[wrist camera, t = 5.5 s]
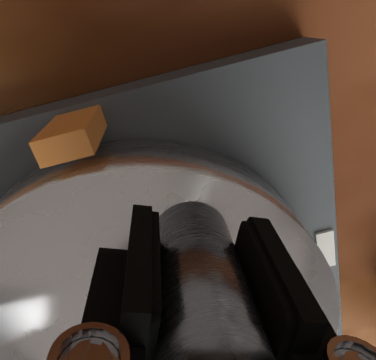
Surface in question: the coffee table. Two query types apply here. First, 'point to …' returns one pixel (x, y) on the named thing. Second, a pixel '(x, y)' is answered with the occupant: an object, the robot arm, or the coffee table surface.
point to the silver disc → (169, 248)
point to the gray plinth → (206, 126)
